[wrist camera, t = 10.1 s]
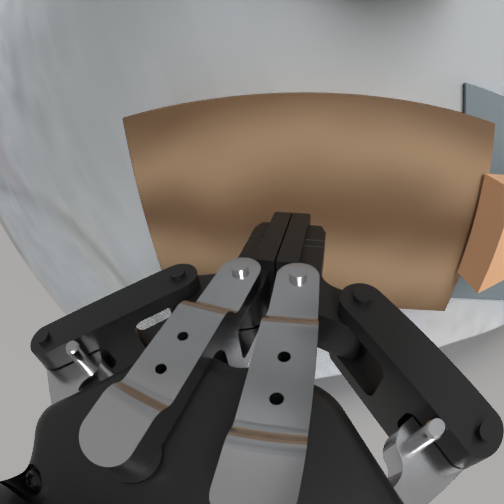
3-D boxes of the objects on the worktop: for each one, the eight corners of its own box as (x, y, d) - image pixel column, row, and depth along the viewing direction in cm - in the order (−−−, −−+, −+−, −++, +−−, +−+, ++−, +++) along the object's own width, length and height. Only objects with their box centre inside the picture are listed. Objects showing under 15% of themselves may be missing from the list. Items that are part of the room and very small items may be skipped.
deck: (159, 108, 16) (122, 118, 13) (463, 113, 11) (495, 123, 8) (188, 250, 23) (165, 280, 20) (432, 273, 17) (444, 310, 14)
